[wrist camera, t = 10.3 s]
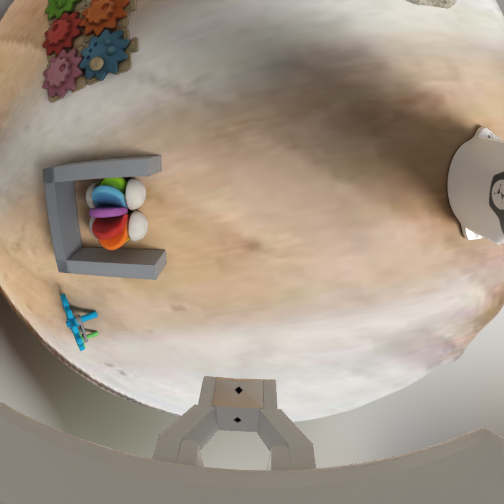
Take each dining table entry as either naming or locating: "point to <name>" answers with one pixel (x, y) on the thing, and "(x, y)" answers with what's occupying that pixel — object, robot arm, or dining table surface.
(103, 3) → the gear puzzle
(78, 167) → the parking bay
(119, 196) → the multicoloured rounded-lobe toy
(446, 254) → the dining table surface
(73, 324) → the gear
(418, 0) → the ceramic cottage
